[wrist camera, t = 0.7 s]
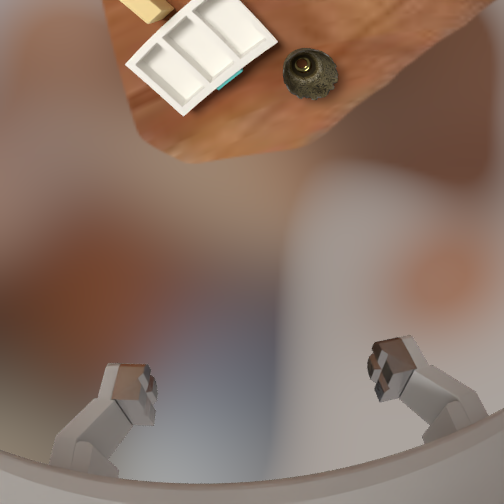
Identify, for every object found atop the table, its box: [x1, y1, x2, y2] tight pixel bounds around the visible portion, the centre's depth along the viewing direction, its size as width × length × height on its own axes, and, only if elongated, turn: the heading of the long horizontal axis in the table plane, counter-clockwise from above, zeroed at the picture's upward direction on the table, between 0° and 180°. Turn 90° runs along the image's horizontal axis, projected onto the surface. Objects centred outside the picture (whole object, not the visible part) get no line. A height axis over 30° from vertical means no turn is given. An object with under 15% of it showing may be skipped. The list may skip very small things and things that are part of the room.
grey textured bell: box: [283, 48, 338, 100], centre depth 39 cm, size 8×7×8 cm
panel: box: [120, 0, 175, 24], centre depth 30 cm, size 2×7×8 cm, turn 39°
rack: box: [125, 0, 278, 116], centre depth 38 cm, size 18×13×4 cm
